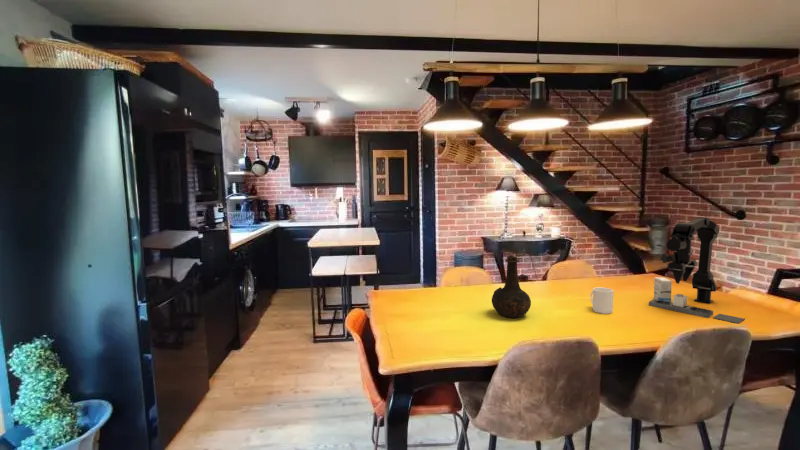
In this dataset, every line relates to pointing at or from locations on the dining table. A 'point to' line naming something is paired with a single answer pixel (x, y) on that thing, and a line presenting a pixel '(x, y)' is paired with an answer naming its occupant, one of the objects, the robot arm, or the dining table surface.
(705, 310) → the grey metal frame
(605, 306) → the mug
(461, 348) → the dining table surface
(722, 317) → the mat
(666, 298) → the ink box
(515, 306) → the glass bottle
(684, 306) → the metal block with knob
